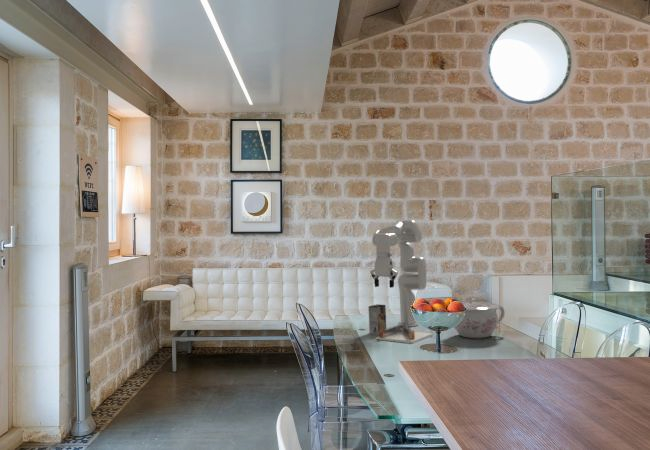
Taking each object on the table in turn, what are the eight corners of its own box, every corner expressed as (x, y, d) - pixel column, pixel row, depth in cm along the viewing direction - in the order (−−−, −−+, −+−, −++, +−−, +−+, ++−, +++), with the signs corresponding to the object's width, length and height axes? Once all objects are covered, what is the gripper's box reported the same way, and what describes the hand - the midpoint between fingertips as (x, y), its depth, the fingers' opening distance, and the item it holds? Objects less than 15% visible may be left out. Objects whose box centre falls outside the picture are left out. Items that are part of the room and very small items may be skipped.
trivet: (398, 332, 318) (398, 329, 318) (432, 335, 304) (432, 333, 304) (376, 339, 299) (376, 337, 299) (412, 343, 285) (411, 341, 285)
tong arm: (403, 332, 310) (403, 325, 310) (407, 332, 310) (407, 325, 310) (409, 338, 291) (409, 331, 291) (414, 338, 291) (414, 331, 291)
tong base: (399, 330, 315) (399, 321, 315) (407, 331, 312) (407, 322, 312) (379, 337, 298) (378, 328, 298) (387, 338, 294) (387, 328, 294)
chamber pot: (443, 339, 294) (442, 301, 294) (456, 330, 318) (455, 294, 318) (497, 343, 281) (496, 303, 281) (506, 333, 305) (505, 296, 305)
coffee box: (377, 331, 322) (376, 304, 323) (386, 332, 319) (385, 304, 319) (369, 333, 315) (368, 306, 315) (378, 334, 311) (377, 306, 311)
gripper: (400, 255, 296) (401, 287, 296) (374, 255, 307) (375, 285, 307) (393, 256, 291) (393, 288, 290) (366, 256, 302) (367, 286, 301)
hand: (384, 287), depth 299 cm, fingers open, 9 cm apart
